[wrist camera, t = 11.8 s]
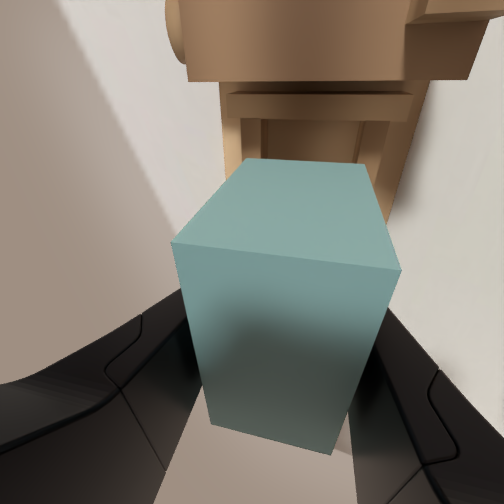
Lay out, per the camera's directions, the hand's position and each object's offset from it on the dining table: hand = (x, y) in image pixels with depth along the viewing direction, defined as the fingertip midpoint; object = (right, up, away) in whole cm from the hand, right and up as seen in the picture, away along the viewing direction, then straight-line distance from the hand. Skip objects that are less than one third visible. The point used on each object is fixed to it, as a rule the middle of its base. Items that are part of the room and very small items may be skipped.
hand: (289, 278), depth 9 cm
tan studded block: (+2, +11, +3) cm, 11 cm away
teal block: (0, +1, +1) cm, 2 cm away
